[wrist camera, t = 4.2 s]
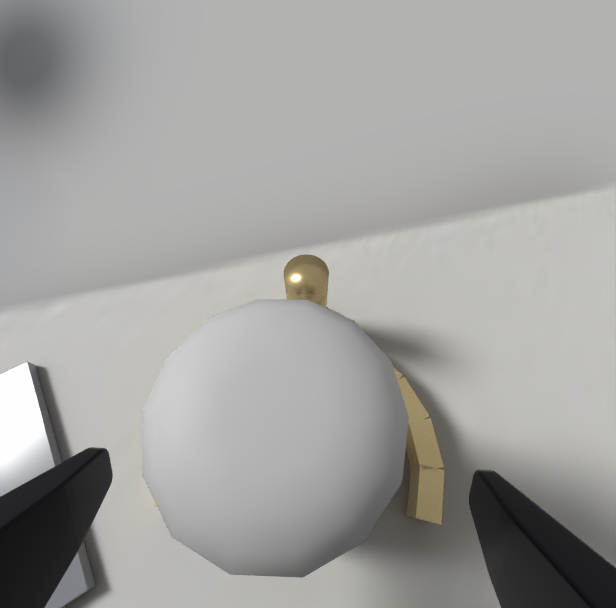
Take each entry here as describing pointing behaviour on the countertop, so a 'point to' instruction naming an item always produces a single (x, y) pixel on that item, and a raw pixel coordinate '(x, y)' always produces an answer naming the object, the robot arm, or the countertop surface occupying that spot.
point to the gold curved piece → (420, 436)
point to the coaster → (34, 460)
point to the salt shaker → (274, 438)
